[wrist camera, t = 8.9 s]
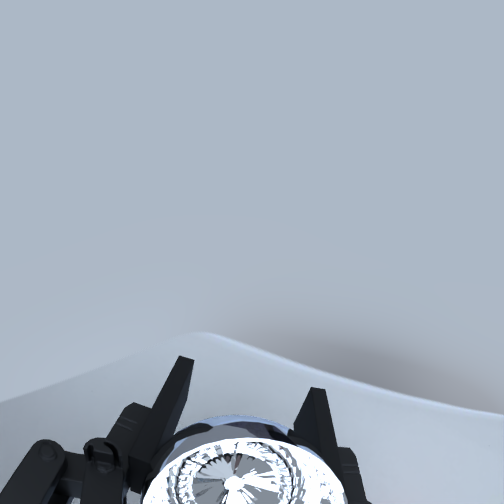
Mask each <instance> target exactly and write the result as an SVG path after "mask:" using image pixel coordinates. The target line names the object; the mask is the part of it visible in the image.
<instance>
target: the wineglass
mask: <svg viewBox="0 0 504 504" xmlns="http://www.w3.org/2000/svg"><path fill="white" fill-rule="evenodd" d="M140 504H348V501H347V498H346V495H345V493H344V490H343V487H342V485H341V482H340V481H339V479H338V477H337V476H336V474H335V473H334V471H333V469H332V468H331V466H330V464H329V463H328V462H327V461H326V459H325V458H324V457H323V456H322V454H321V453H320V452H319V451H318V450H317V449H316V448H315V447H314V446H313V445H312V444H311V443H309V442H308V441H307V440H306V439H305V438H304V437H302V436H301V435H299V434H298V433H296V432H294V431H293V430H291V429H290V428H288V427H286V426H284V425H281V424H279V423H277V422H274V421H271V420H268V419H264V418H260V417H255V416H247V415H226V416H216V417H212V418H208V419H205V420H201V421H198V422H196V423H194V424H192V425H189V426H187V427H185V428H183V429H182V430H180V431H179V432H177V433H176V434H175V435H173V436H172V437H171V438H170V439H168V440H167V441H166V442H165V443H164V444H163V445H162V447H161V448H160V449H159V451H158V452H157V453H156V455H155V456H154V457H153V459H152V460H151V462H150V465H149V467H148V469H147V471H146V474H145V476H144V480H143V483H142V489H141V496H140Z"/></svg>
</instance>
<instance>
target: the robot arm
mask: <svg viewBox="0 0 504 504" xmlns="http://www.w3.org/2000/svg"><path fill="white" fill-rule="evenodd" d="M193 365H194V360H192V359H189V358H186V357H182V356H179V357H178V359H177V361H176V363H175V365H174V367H173V369H172V370H171V372H170V374H169V376H168V378H167V380H166V382H165V384H164V386H163V388H162V390H161V392H160V393H159V395H158V397H157V399H156V401H155V403H154V405H153V407H152V409H151V408H148V407H145V406H143V405H140V404H137V403H135V402H133V403H132V404H130V405H128V406H127V407H125V408H124V410H123V411H122V413H121V415H120V417H119V418H118V419H117V421H116V423H115V424H114V426H113V427H112V429H111V431H110V432H109V434H108V436H107V437H106V438H94V439H90V440H89V441H88V442H86V443H85V446H84V448H83V450H84V454H85V455H84V454H76V453H72V452H67V451H64V450H63V448H62V447H61V445H59V444H58V443H57V442H55V441H52V440H45V439H43V440H40V441H37V442H36V443H35V444H34V445H33V446H32V447H31V449H30V450H29V451H28V453H27V454H26V456H25V457H24V459H23V460H22V462H21V463H20V464H19V466H18V467H17V469H16V470H15V472H14V473H13V475H12V476H11V478H10V479H9V481H8V482H7V484H6V485H5V487H4V488H3V490H2V492H1V493H0V504H71V503H72V501H73V499H74V497H75V498H80V504H127V496H126V494H127V492H128V490H129V487H130V490H131V491H133V492H135V493H138V494H141V489H142V483H143V480H144V476H145V474H146V471H147V469H148V467H149V465H150V462H151V460H152V459H153V457H154V456H155V455H156V453H157V452H158V451H159V449H160V448H161V447H162V445H163V444H164V443H165V442H166V441H167V440H168V439H170V438H171V437H172V436H173V434H174V432H175V429H176V427H177V424H178V421H179V419H180V416H181V414H182V411H183V408H184V406H185V403H186V401H187V396H188V391H189V386H190V380H191V375H192V370H193ZM294 432H296V433H298V434H299V435H301V436H302V437H304V438H305V439H306V440H307V441H308V442H309V443H311V444H312V445H313V446H314V447H315V448H316V449H317V450H318V451H319V452H320V453H321V454H322V456H323V457H324V458H325V459H326V461H327V462H328V463H329V464H330V466H331V468H332V469H333V471H334V473H335V474H336V476H337V477H338V479H339V481H340V482H341V485H342V487H343V490H344V493H345V495H346V498H347V501H348V504H372V503H370V502H369V501H367V499H366V496H365V492H364V487H363V483H362V479H361V475H360V471H359V467H358V462H357V458H356V456H355V454H354V453H353V451H352V450H351V449H350V448H345V447H337V442H336V437H335V432H334V427H333V423H332V418H331V413H330V409H329V404H328V400H327V395H326V391H325V389H320V388H314V387H311V388H310V390H309V392H308V395H307V397H306V399H305V401H304V403H303V405H302V407H301V409H300V412H299V414H298V416H297V418H296V420H295V422H294Z"/></svg>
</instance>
